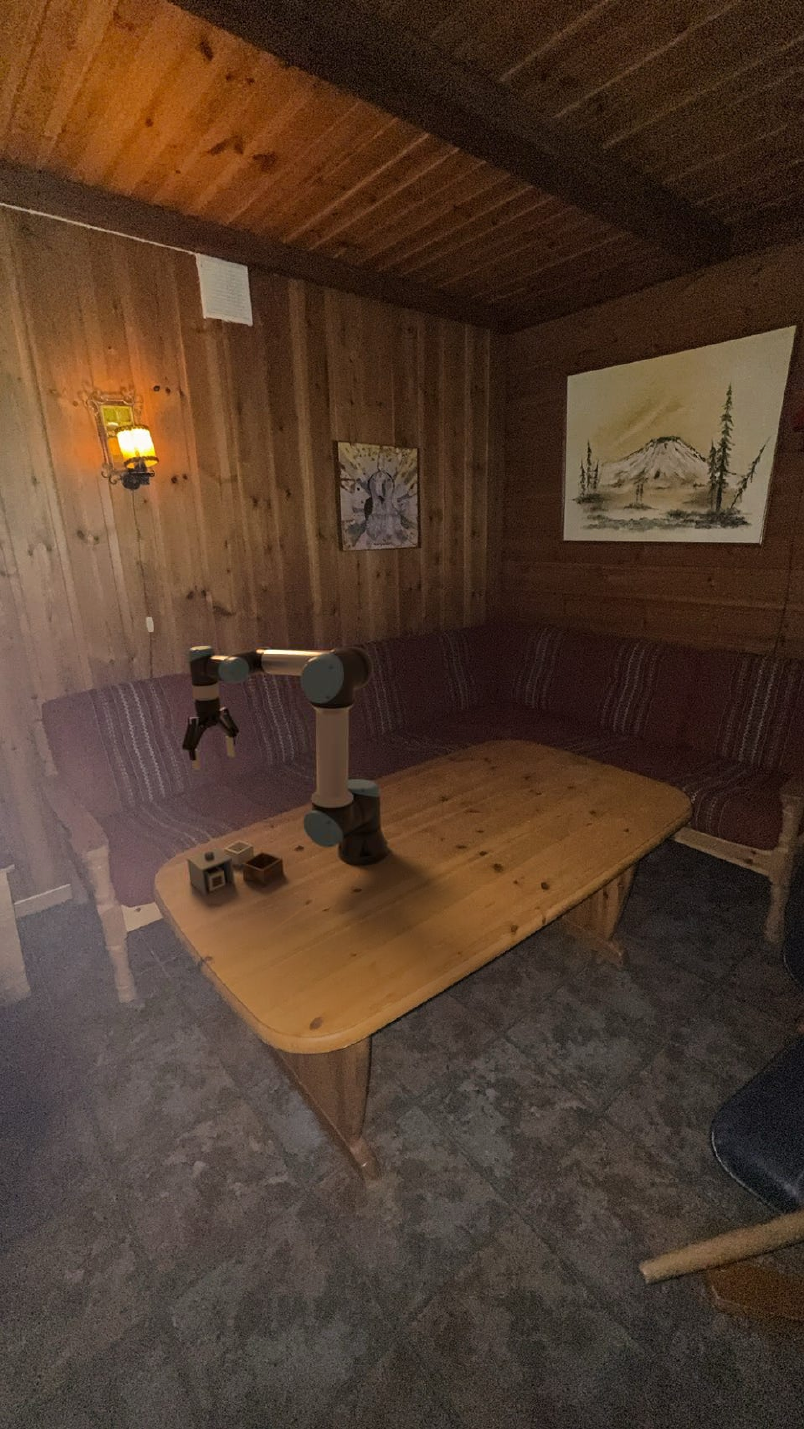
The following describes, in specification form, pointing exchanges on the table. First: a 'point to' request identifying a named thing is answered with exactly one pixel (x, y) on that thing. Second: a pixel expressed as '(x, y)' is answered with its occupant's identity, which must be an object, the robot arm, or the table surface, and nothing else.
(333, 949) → the table surface
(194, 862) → the cover
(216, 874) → the cream boxy hollow piece
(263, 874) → the walnut bin
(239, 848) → the beige tub
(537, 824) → the table surface
